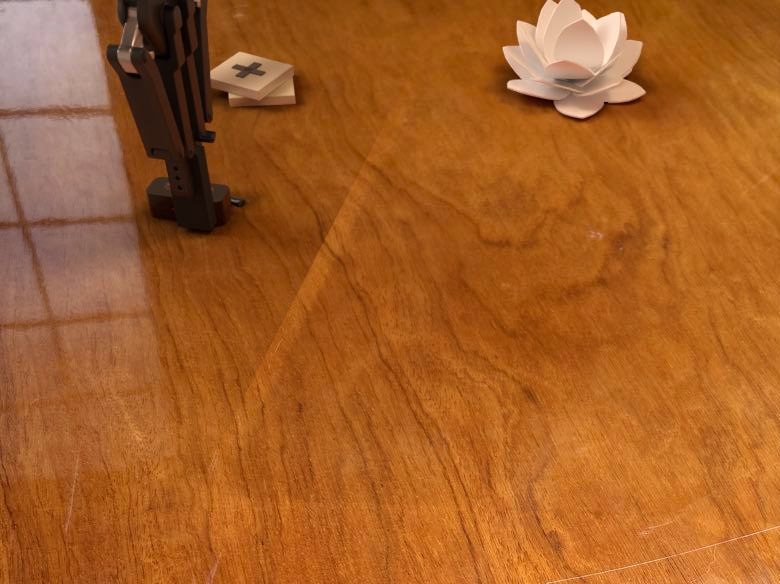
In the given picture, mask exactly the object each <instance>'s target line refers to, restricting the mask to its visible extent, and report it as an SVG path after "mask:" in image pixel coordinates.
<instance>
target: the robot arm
mask: <svg viewBox="0 0 780 584" xmlns="http://www.w3.org/2000/svg"><path fill="white" fill-rule="evenodd" d="M116 1H117V2H116V3H117V5H116V7H117V8H116V9H117V10H116V11H117V12H116V13H117V18H118V21H119V23H120V25H121V27H122V28H123V31H122V35H121V37H120V38H121V39H120V43H119V44H114V43H108V44H107V47H106V52H105V53H106V60H107V62H108V63H109V65H110V66H111V67H112V69H113V70H114V72H115V73H116V75H117V76H118V78H119V82H120V84H121V87H122V90H123V92H124V95H125V98H126V101H127V104H128V106H129V109H130V112H131V114H132V115H131V116H132V118H133V120H134V123H135V125H136V126H135V127H136V129H137V132H138V134H139V137H140V140H141V143H142V145H143V148H144V151H145V154H146V156H147V158H148V159H154V160H160V161H161V160H162V161H164V163H165V169H166V173H167V177H168V179H169V184H170V189H171V194H172V199H173V204H174V209H175V214H176V219H177V221H176V224H177V227H178V228H184V229H191V230H199V231H207V232H212V230H213V229H214V227H215V226H214V225H215V224H216V222H217V219H216V213H215V207H214V201H213V196H212V190H211V184H210V183H211V179H210V173H209V168H208V166H209V165H208V162H207V154H206V149H205V146H204V145H203V143H205V144H215V141H216V138H217V135H216V134H217V133H216V131H215V130H214V131H213V130H207V128H206V124H212V122H213V119H214V111H213V109H214V108H213V94H212V88H211V77H210V71H211V64H210V63H211V62H210V48H209V33H208V18H207V17H208V4H209V3H208V2H209V1H208V0H116Z"/></svg>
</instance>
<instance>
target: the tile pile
mask: <svg viewBox="0 0 780 584" xmlns="http://www.w3.org/2000/svg"><path fill="white" fill-rule="evenodd" d="M294 76H295V70H294V65H293V64H289V63H285V62H281V61H277V60H274V59H271V58H266V57H262V56H258V55H254V54H252V53H251V54H250V53H247V52H244V51H238V52H237V53H235V54H234V55H232V56H230V57H229V58H228V59H226V60H224V62H222V63H220V64H219V65H217V66H216V67H214V68H213V69H212V70H211V69H210V77H211V89H214V90H218V91H222V92H225V93H228V103H229V107H230V108H235V107H236V108H237V107H256V106H258V107H259V106H276V105H277V106H278V105H279V106H281V105H296V104H297V103H296V94H295V83H294Z"/></svg>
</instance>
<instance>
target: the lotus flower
mask: <svg viewBox="0 0 780 584" xmlns="http://www.w3.org/2000/svg"><path fill="white" fill-rule="evenodd" d="M536 23H537V24H536V26H535V25H533V24H531V23H528V22H525V21H522V20H519V19H518V20H517V21H516V37H517V41H518V45H506V46H502V52H503V56H504V58H505V59H506V61H507V63H508V64H509V66H510V67H511V68H512V70H513V71H514V73H516V75H517V76H518V78H520V79H511V80H508V81H507V83H506V88H507V89H508V90H511V91H513V92H517V93H519V94H523V95H527V96H531V97H535V98H541V99H546V100H552V101H553V105H554V107H555V109H556V110H557V111H558V112H559V113H561V114H562V115H565V116H568V117H572V118H578V119H585V118H588V117H591V116H593V115H595V114H596V113H598V112H599V111H600V110H601V109H603V107H604V105H605V103H604V102H608V103H607V104H618V103H619V104H620V103H627V102H631V101H634V100H636V99H639V98H640V97H642V96H644V95H646V93H647V92H646V90H645V89H643V87H642V86H640V85H639V84H637V83H635V82H633V81H630V80H628V79H625V78H626V77H627V76H629V75H630V74H631V73H632V72H633V68H634V66H635V65H636V64H637V63H638V61H639V58H640V56H641V54H642V50H643V49H642V48H643V45H644V43H643V42H642V41H640V40H634V39H628V26H627V22H626V17H625V13H623V12H621V11H615V12H612V13H609V14H607V15H605V16H601V17H600V18H598V19H597V18H596V17H595V16H594V15H593V14H592V13H590V12H589V11H588V10H586V9H582V7H581V6H580V4H579V3H578V2H576V1H575V0H559V2H558V3H557V2H555V1H554V0H546V2H545V3H544V4H543V7H541V9H540V13H539V16H538V19H537V22H536Z"/></svg>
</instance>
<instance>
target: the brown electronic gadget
mask: <svg viewBox="0 0 780 584" xmlns="http://www.w3.org/2000/svg"><path fill="white" fill-rule="evenodd" d="M210 184H211V190H212V196H213V201H214V207H215V213H216V219H217V222H216V224H215V225H214V227H218V228H219V227H224V226H225V225H227V224H228V222H229V221H230V219H231V218H232V216H233V214H234V207H236V208H241V207H244V206H245V205H246V204H247V202H249V203H250V200H246V199H245V198H243V197H240V196H236V195H231V189H230V186H229V185H227V184H223V183H222V184H221V183H213V182H210ZM145 194H146V199H147V200H146V201H147V204H148V208H149V213H150V217H151V218H153V219H157V220H165V221H172V222H177V219H176V214H175V209H174V204H173V199H172V194H171V189H170V184H169V179H168V176H157V177H155V178H153V180H152V181H151V182H150V183H149V185H148V186H147V188H146V189H145Z"/></svg>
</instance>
